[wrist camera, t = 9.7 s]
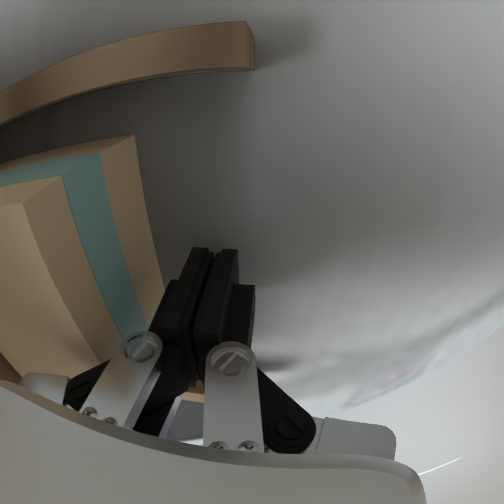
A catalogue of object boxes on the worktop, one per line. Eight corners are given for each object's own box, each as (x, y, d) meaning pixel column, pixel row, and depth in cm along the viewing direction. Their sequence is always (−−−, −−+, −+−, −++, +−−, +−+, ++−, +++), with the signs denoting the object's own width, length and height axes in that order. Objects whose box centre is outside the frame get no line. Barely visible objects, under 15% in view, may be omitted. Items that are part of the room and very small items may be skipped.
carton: (138, 131, 9) (22, 201, 4) (183, 343, 16) (157, 433, 11) (4, 161, 10) (-76, 217, 5) (69, 322, 17) (32, 388, 12)
